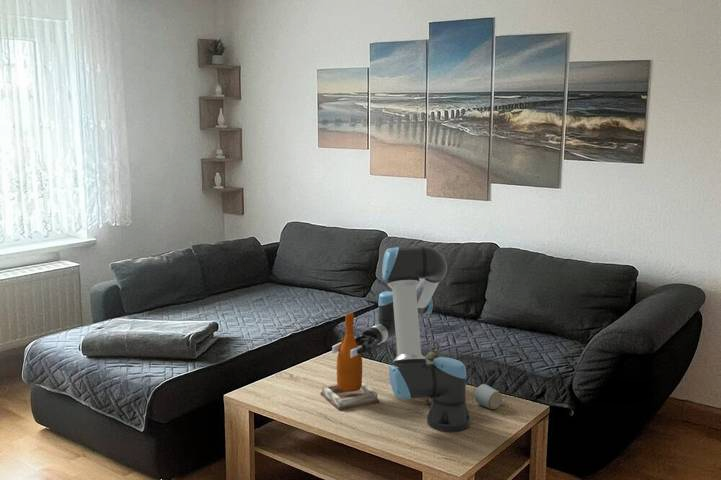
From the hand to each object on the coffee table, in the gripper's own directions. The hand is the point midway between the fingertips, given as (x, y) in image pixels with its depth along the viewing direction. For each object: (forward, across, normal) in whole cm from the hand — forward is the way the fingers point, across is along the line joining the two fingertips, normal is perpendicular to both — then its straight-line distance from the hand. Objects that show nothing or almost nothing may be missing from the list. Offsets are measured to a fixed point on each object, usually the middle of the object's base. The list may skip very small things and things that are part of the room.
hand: (342, 351), depth 287 cm
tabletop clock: (-18, -29, -20) cm, 40 cm away
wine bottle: (-5, 0, -16) cm, 17 cm away
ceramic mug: (-29, -48, -20) cm, 60 cm away
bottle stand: (-5, 0, -20) cm, 21 cm away
